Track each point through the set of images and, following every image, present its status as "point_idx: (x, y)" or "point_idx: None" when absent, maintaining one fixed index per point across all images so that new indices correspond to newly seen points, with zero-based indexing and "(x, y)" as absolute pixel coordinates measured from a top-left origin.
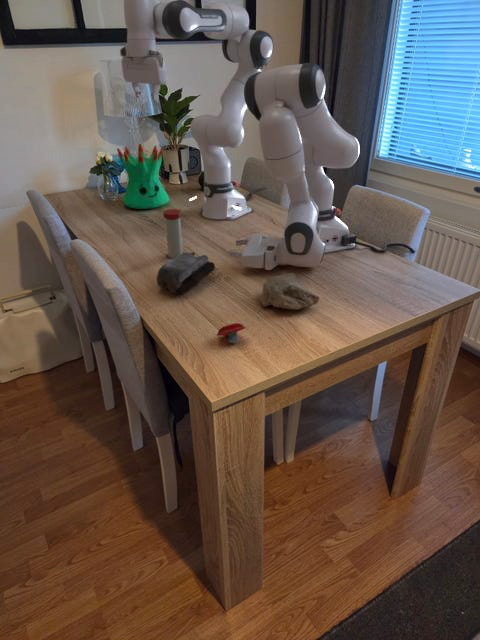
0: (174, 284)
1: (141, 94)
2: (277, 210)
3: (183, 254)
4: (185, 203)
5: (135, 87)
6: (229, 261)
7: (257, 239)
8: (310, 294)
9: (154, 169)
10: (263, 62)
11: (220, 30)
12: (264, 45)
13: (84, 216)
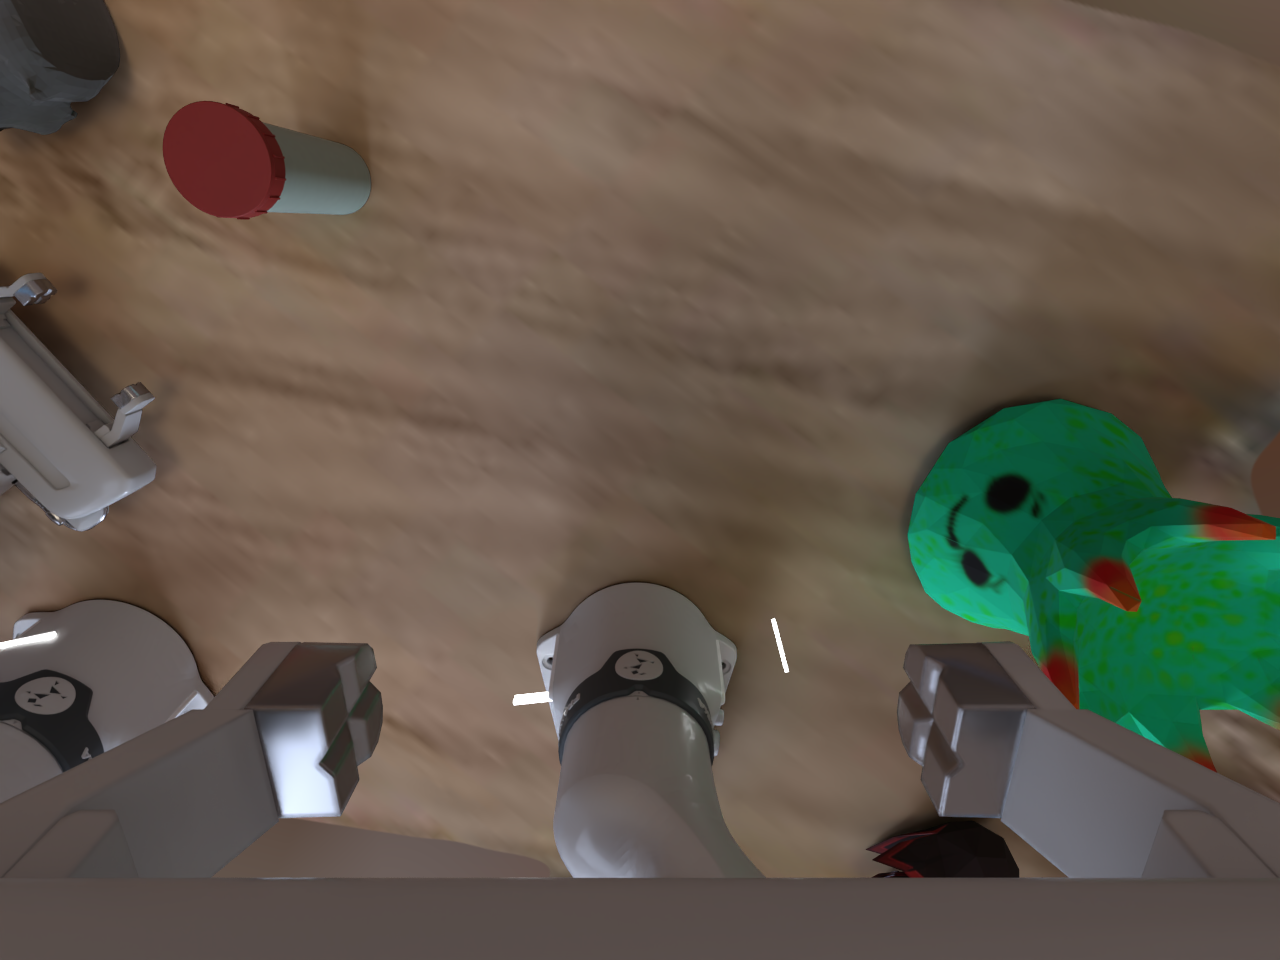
0: None
1: (925, 766)
2: (502, 828)
3: (6, 19)
4: (872, 645)
5: (1141, 821)
6: (148, 316)
7: (50, 445)
8: None
9: (1029, 623)
10: None
11: None
12: None
13: (1156, 152)
